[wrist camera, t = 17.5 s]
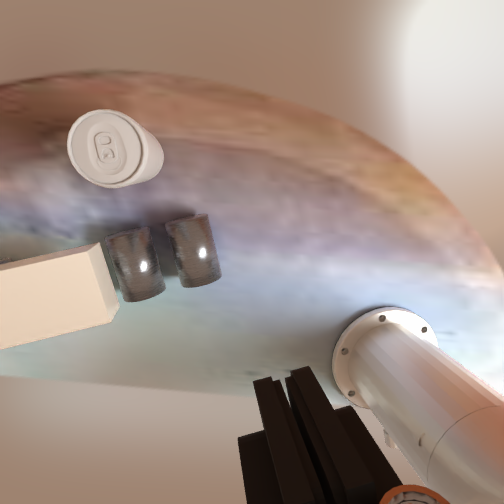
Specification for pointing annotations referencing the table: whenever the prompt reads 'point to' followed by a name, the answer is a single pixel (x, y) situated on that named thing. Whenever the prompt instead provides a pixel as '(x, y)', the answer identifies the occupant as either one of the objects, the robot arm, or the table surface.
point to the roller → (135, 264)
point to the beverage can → (113, 149)
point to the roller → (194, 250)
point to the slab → (55, 295)
